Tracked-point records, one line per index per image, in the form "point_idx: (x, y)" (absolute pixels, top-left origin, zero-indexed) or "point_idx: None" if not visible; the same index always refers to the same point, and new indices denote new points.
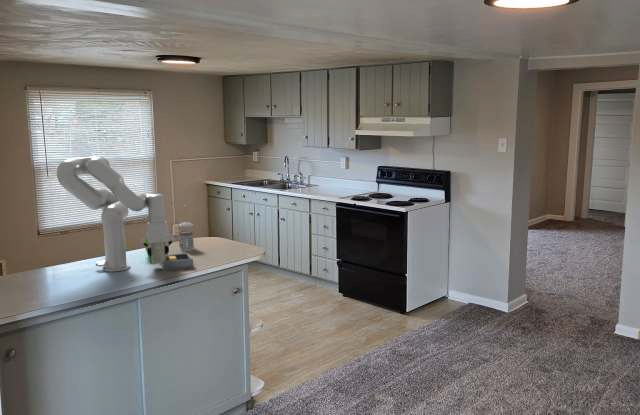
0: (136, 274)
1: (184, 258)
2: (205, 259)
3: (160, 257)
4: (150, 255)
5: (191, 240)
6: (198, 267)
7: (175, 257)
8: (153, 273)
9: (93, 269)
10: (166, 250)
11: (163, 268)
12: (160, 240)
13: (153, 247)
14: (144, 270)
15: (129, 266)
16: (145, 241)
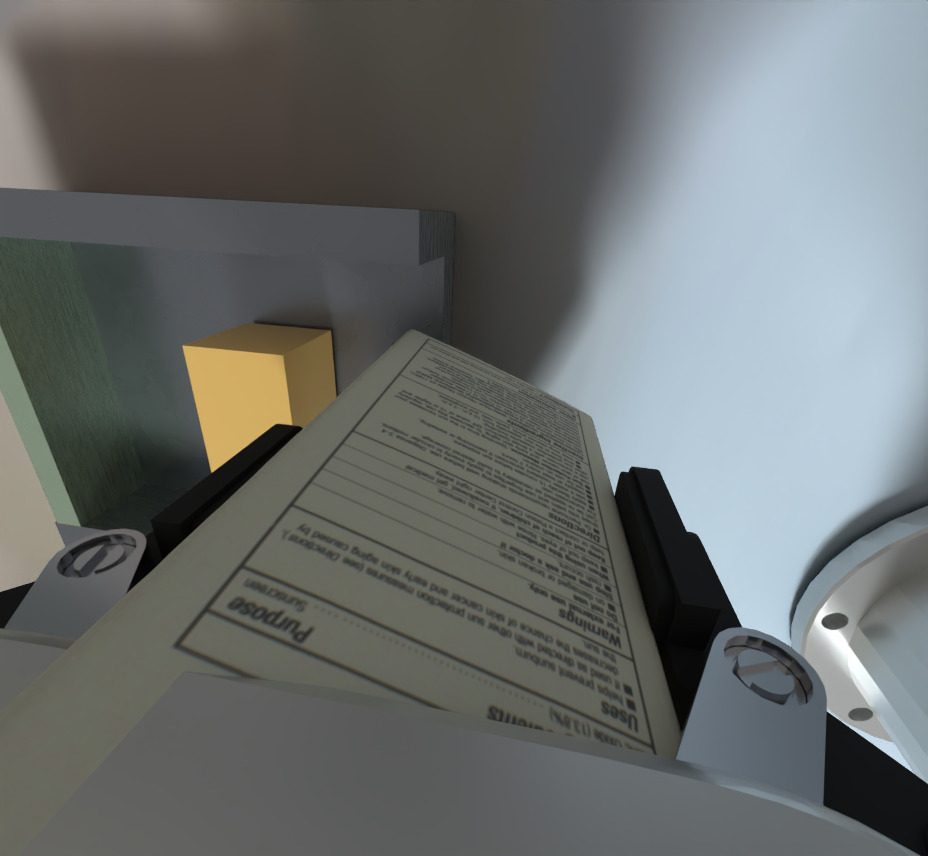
0: (917, 205)
1: (156, 495)
2: (2, 471)
3: (443, 383)
4: (647, 472)
5: None
6: (7, 178)
7: (201, 398)
8: (641, 135)
9: None
10: (250, 474)
11: (448, 277)
12: (96, 822)
13: (578, 612)
14: (701, 374)
15: (842, 570)
16: None
